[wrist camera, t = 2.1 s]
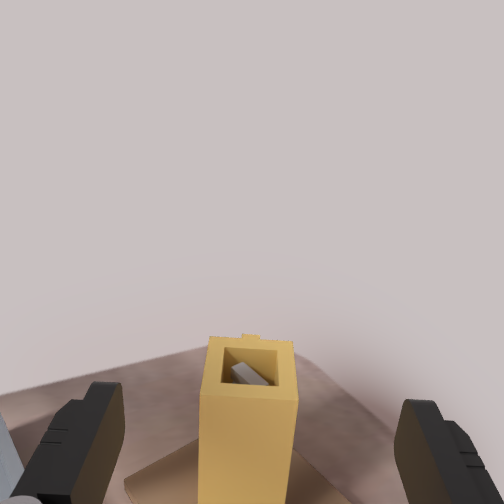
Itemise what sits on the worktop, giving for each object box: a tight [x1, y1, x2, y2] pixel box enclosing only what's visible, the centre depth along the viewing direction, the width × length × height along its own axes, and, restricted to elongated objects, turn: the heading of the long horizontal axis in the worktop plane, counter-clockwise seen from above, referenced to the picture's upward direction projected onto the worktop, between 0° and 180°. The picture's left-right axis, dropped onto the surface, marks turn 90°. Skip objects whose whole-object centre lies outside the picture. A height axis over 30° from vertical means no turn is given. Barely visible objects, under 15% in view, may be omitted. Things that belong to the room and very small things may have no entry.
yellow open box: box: [198, 334, 299, 504], centre depth 29 cm, size 7×5×10 cm
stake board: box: [124, 362, 352, 504], centre depth 27 cm, size 14×11×10 cm
